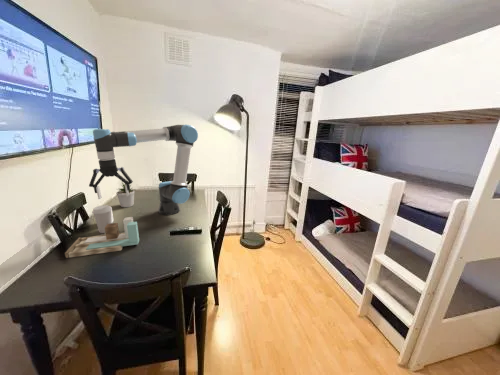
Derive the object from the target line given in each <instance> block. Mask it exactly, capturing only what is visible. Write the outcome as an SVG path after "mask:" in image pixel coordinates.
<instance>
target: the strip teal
mask: <svg viewBox="0 0 500 375" xmlns="http://www.w3.org/2000/svg"><path fill="white" fill-rule="evenodd" d="M127 229H128V236H129V239H126V240H118V241H110V242H102V243H94V244H89V246H88V247H87V249H86V250H90V249H97V248H105V247H112V246H120V245H121V246H123V247H127V246H129V247H130V246H134V245H136V246H137V245H139V242H140V237H139V236H140V235H139V226H138V221H133V222H128V224H127Z"/></svg>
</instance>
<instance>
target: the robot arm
mask: <svg viewBox="0 0 500 375" xmlns="http://www.w3.org/2000/svg"><path fill="white" fill-rule="evenodd" d="M92 136H93V141H94V145H95V149H96V155H97V159H98V164H99V168H94V169H92V172H93V173H92V177H91V178H90V182H89V185H88V187H90V188H93V190H94V193H95V194H97V199H98V200H101V198H102V194H101V188H100V186H99V184H100V183H101V181H102V180H103V179H104V177H106V178H107V177H108V178H109V177H115V178H117V179H119V180H120V181H121V183H124V185H125V184H126V185H125V189H126V195H127V196H129V191H128V190H130V189H131V186H130V185H132V183H133V182H134V181H133V180H132V178H131V177H130V176H129V175H128V173H127V172H126V171H125V168H124V167H123V166H121V167H117V161H116V159H115V158H116V156H115V151H114V148H118V147H119V148H120V147H123V148H124V147H134V146H136V145H137V144H138V143H139V144H140V143H147V142H157V141H163V140H164V141H166V142H169V141H170V142H172V141H173V142H175V144H176V145H177V148H176V156H175V157H176V158H175V165H174V172H173V177H172V179H173V180H169V181H162V182H160V183H159V184H158V192H159V200H160V201H159V207H158V214H159V215H164V216H165V215H166V216H167V215H168V216H170V215H174V214H178V213H179V212H181V208H180V204H182V205H183V204H185V203H186V202H187V201H188V200H189V199H190V194H191V192H190V190H189V189H188V186H189V185H188V183H187V177H188V169H189V162H190V154H191V148H192V149H193V147H194V144H195V143H196V141H197V140H198V138H199V133H198V130H197V129H196V127H195V126H193V125H191V124H175V125H170V126H163V127H162V128H152V129H151V128H150V129H139V130H125V131H111V130H110V129H108V128H98V129H93V130H92ZM118 171H119V172H121V174H122V175H123V176H124V177H123V176H122V175H121V174H120V173H119V172H118ZM99 172H100V173H101V175H100V177H99V178H98V179H97V181H96V178H97V176H98V174H99ZM95 181H96V182H95ZM129 184H130V185H129Z"/></svg>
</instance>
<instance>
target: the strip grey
mask: <svg viewBox="0 0 500 375" xmlns="http://www.w3.org/2000/svg"><path fill="white" fill-rule="evenodd" d="M122 222H123V228H124V233H125V234H119V236H118V238H116V239H124V238H125V240H126V239H129V236H128V229H127V224H128V222H134V217H133V216H129V217H124V219H123V220H122ZM100 236H101V235H100ZM116 239H108V240H116ZM108 240H107V239H106V236H101V237H93V238H88V239H87V240H86V241H85V242H84V243H92V242H100V241H108Z"/></svg>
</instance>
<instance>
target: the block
mask: <svg viewBox="0 0 500 375" xmlns="http://www.w3.org/2000/svg"><path fill="white" fill-rule="evenodd" d="M119 233H120V230H119V224H118V222H115V223H114V222H113V223H112V224H107V225H106V226H105V233H104V234H105V235H106V239H107V240H108V239H116V238H118V236H119Z"/></svg>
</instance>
